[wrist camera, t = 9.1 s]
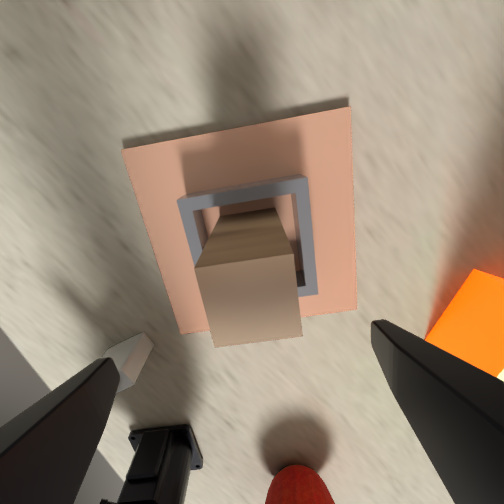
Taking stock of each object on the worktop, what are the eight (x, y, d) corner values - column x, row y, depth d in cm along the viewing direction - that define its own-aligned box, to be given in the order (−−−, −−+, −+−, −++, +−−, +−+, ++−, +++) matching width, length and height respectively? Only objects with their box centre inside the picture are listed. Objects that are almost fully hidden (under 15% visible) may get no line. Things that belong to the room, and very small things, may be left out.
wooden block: (281, 258, 20) (302, 336, 12) (230, 266, 20) (214, 347, 12) (274, 207, 19) (293, 253, 10) (219, 216, 19) (193, 268, 11)
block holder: (355, 305, 22) (369, 328, 19) (182, 330, 23) (172, 355, 20) (347, 107, 17) (366, 98, 14) (124, 149, 18) (100, 149, 15)
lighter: (143, 331, 23) (91, 417, 16) (154, 345, 24) (110, 434, 16) (81, 361, 24) (6, 454, 17) (93, 374, 25) (26, 469, 18)
